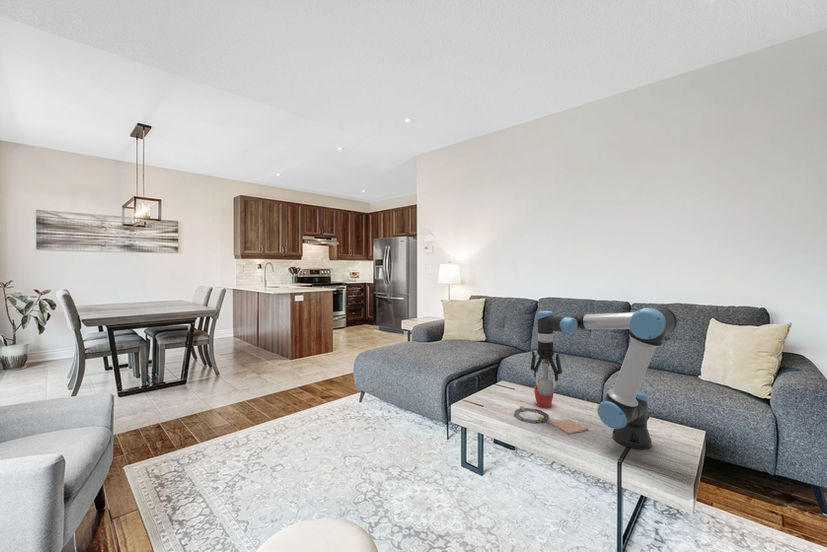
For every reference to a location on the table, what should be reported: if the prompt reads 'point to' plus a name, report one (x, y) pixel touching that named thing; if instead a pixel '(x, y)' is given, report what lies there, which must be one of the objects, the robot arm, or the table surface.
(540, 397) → the flower pot
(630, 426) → the robot arm
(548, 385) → the potion bottle
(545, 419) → the collar
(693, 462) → the table surface
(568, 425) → the coaster
